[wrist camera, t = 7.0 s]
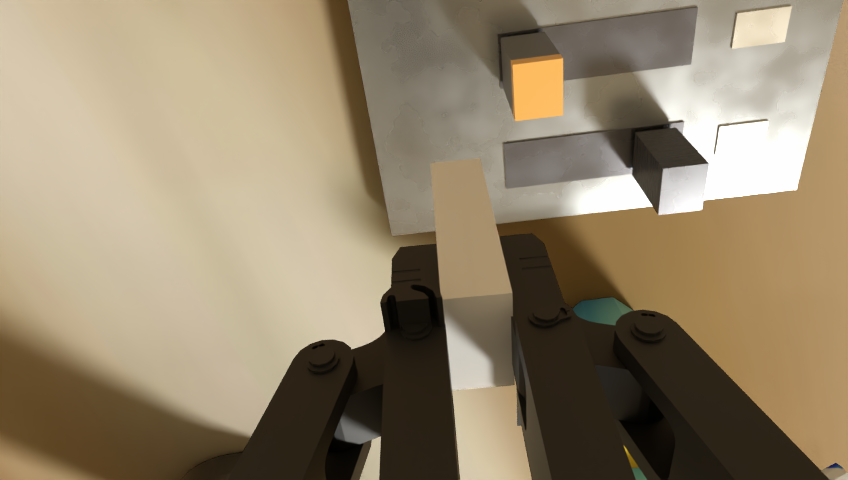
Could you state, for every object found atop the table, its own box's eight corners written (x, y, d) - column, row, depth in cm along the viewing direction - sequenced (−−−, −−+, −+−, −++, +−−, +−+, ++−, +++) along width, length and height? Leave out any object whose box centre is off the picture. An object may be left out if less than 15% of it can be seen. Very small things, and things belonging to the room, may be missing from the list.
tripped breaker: (503, 88, 28) (515, 121, 25) (500, 37, 27) (512, 64, 24) (545, 83, 28) (563, 115, 25) (544, 31, 27) (563, 58, 24)
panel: (392, 217, 35) (389, 284, 30) (326, -145, 25) (303, -141, 20) (777, 172, 34) (845, 234, 29) (866, -227, 24) (996, -247, 19)
